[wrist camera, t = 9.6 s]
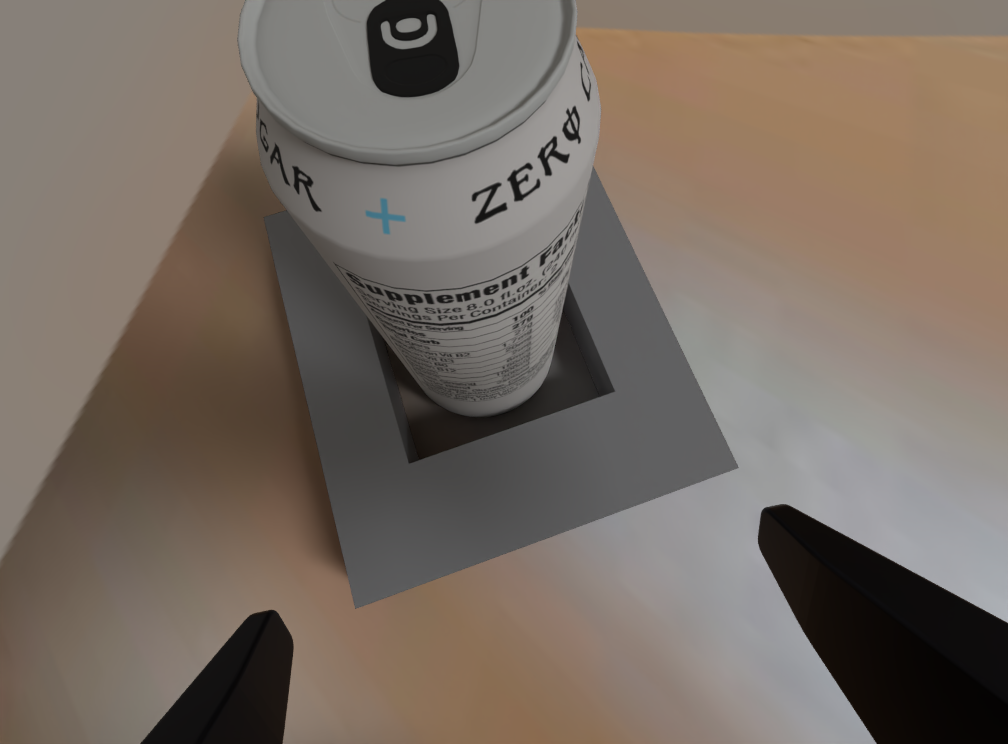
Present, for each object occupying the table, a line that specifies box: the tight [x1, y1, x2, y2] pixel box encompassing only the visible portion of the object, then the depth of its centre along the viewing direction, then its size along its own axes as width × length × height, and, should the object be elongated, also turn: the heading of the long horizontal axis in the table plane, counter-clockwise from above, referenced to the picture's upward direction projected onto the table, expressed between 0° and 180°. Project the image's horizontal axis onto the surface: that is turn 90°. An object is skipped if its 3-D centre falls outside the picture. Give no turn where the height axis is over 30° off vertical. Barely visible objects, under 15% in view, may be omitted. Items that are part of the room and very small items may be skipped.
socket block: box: [264, 167, 739, 609], centre depth 20 cm, size 16×14×2 cm
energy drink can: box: [237, 0, 601, 417], centre depth 14 cm, size 6×6×15 cm
